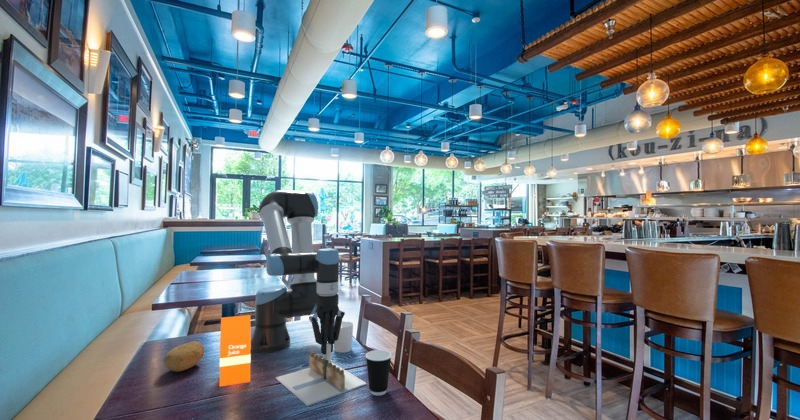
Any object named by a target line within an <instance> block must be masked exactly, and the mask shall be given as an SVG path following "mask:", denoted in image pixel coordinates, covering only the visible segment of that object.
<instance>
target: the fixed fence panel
mask: <svg viewBox="0 0 800 420" xmlns="http://www.w3.org/2000/svg"><path fill="white" fill-rule="evenodd" d="M331 362H332V361H331ZM331 362H330V363H329V361H328V360H324V379H326V380H327V381H328V382H330V383H331V384H333V385H334V386H336V387H337V388H338V389H340V390H344V389H345V375H344V370H345V369H344V368H342V370H340V368H339V367H340V366H339V367H337V368H336V365H337V364H336V365H332V363H333V362H332V363H331ZM343 369H344V370H343Z"/></svg>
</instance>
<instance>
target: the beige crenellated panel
mask: <svg viewBox="0 0 800 420" xmlns="http://www.w3.org/2000/svg"><path fill="white" fill-rule="evenodd" d="M324 360H326V359H325V358H323V356H321V355H319V354H318V353H316V354H315V351H311V352H310V353H309V368H311V369H312V370H314V371H315V372H317V373H318V374H320V375H321V376H322V377H323V376H324Z"/></svg>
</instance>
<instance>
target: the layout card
mask: <svg viewBox="0 0 800 420" xmlns="http://www.w3.org/2000/svg"><path fill="white" fill-rule="evenodd" d="M331 363H332V365H336V368H337V367H339V368H340V370H342V369H343V370H344V375H345V389H344V390H340V389H338V388H337V387H336V386H334V385H333V384H331V383H330V382H328V381H327V380H326V379H324V376H323V377H322V376H321V375H320V374H318V373H317V372H315V371H314V370H312V369H311V368H310V367H308V368H303V369H300V370H297V371H292V372H290V373H287V374H283V375H280V376H276V377H275V380H277V381H278V382H279V383H280V384H282V385H283V386H284V387H285V388H286V389H287V390H288V391H289V392H290V393H292V394H293V395H294V396H295V397H296V398H298V400H300V401H301V402H302V403H303V404H304V405H306V406H307V407H309V406H311V405H315V404H317V403H319V402H322V401H325V400H328V399H330V398H333V397H336V396H339V395H341V394H344V393H348V392H350V391H352V390H356V389H358V388H361V387H363V386H367V382H365V381H364V380H362V379H361V378H359V377H357V376H356V375H354V374H352V373H351V372H349V371H347V370H345V369H344V368H342V367H341V366H339V365H338V364H335V363H334V362H332V361H331Z"/></svg>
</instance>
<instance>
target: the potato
mask: <svg viewBox="0 0 800 420" xmlns="http://www.w3.org/2000/svg"><path fill="white" fill-rule="evenodd" d="M204 349H205V348H204V346H203V344H202V343H201V342H200V341H196V340H193V341H188V342H186V343H184V344H180V345H177V346H175V347H174V348H172V349H171V350H169V351H168V352H167V353H166V355H165V356H164V358H163V359H164V360H163V363H164V367H166V369H168V370H170V371H172V372H174V373H175V372H176V373H179V372H180V373H181V372H184V371H186V370H188V369H190V368H192V367H194V366H195V365H197V364H198V363H199V362H201V360H202V359H203V356H204V355H205V350H204Z"/></svg>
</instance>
